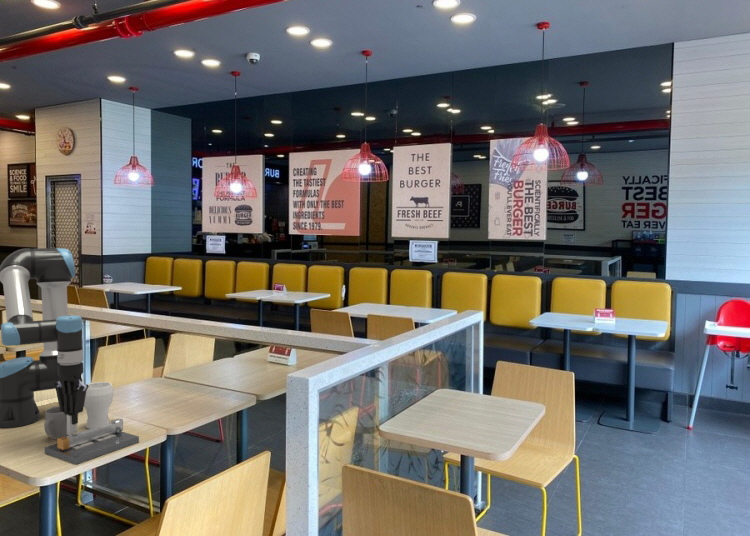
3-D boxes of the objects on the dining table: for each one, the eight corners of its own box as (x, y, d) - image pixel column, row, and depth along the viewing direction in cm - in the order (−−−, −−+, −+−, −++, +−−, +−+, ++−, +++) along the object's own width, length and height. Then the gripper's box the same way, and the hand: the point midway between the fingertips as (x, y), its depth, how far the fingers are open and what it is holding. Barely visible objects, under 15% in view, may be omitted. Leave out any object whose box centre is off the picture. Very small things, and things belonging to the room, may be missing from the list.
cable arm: (118, 428, 198) (118, 418, 198) (125, 429, 196) (125, 419, 196) (57, 447, 179) (56, 437, 179) (63, 450, 177) (63, 439, 177)
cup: (101, 431, 201) (100, 390, 200) (75, 429, 203) (74, 388, 203) (120, 422, 212) (119, 382, 211) (95, 420, 214) (94, 380, 213)
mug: (56, 431, 201) (55, 405, 200) (80, 432, 200) (79, 405, 200) (33, 444, 189) (32, 415, 188) (58, 445, 188) (58, 416, 188)
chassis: (44, 453, 181) (44, 446, 181) (107, 433, 200) (107, 426, 200) (76, 464, 172) (76, 456, 172) (138, 442, 191) (138, 435, 191)
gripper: (45, 363, 185) (47, 434, 186) (75, 366, 180) (77, 439, 182) (65, 359, 192) (67, 427, 193) (94, 362, 187) (96, 432, 189)
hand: (72, 433), depth 187 cm, fingers closed
